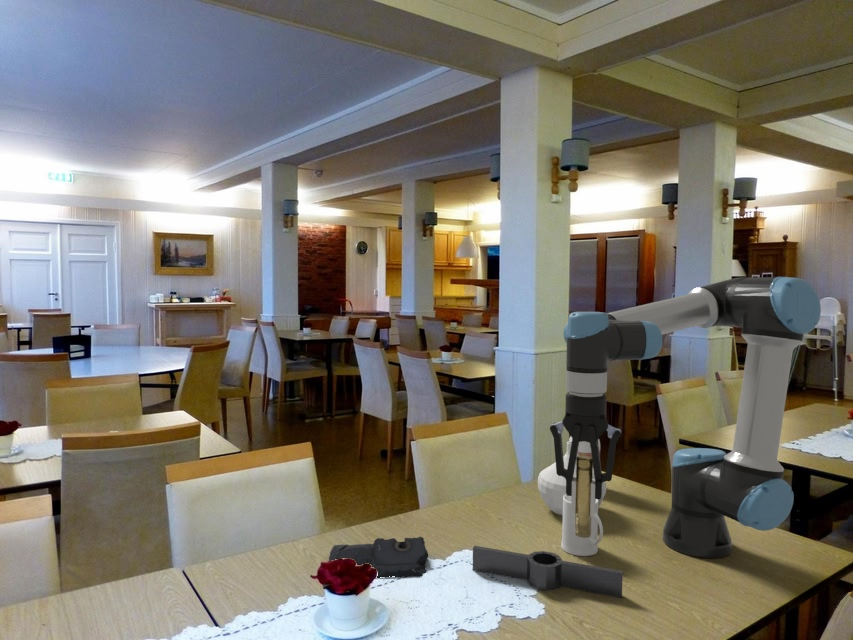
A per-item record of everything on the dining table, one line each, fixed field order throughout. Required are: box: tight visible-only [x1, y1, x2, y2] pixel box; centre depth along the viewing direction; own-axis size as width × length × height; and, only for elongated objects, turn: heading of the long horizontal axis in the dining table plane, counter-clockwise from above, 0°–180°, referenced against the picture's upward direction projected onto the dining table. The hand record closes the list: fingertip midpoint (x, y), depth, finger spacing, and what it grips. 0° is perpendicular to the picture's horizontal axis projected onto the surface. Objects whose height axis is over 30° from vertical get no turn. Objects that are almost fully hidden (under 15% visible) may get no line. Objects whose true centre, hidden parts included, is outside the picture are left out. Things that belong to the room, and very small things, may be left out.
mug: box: [560, 495, 604, 557], centre depth 139 cm, size 12×8×12 cm
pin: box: [575, 456, 593, 538], centre depth 114 cm, size 3×3×15 cm
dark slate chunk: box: [328, 536, 429, 579], centre depth 133 cm, size 15×22×5 cm
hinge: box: [472, 545, 624, 599], centre depth 124 cm, size 31×7×5 cm, turn 69°
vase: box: [537, 440, 607, 517], centre depth 163 cm, size 18×18×19 cm
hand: (583, 513), depth 114 cm, fingers closed on pin, 3 cm apart
